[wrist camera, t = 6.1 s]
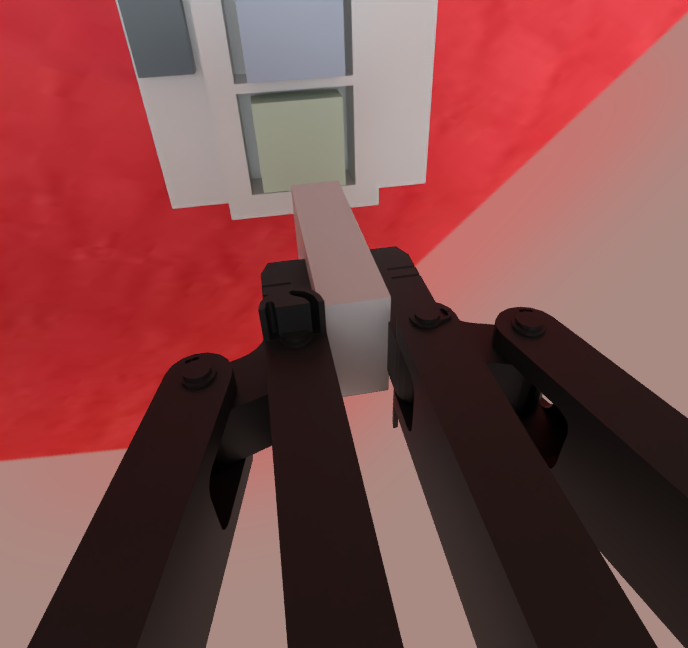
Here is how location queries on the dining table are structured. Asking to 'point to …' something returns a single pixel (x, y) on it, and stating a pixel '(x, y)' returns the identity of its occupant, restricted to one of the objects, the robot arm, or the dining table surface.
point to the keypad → (235, 93)
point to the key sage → (299, 138)
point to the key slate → (291, 39)
